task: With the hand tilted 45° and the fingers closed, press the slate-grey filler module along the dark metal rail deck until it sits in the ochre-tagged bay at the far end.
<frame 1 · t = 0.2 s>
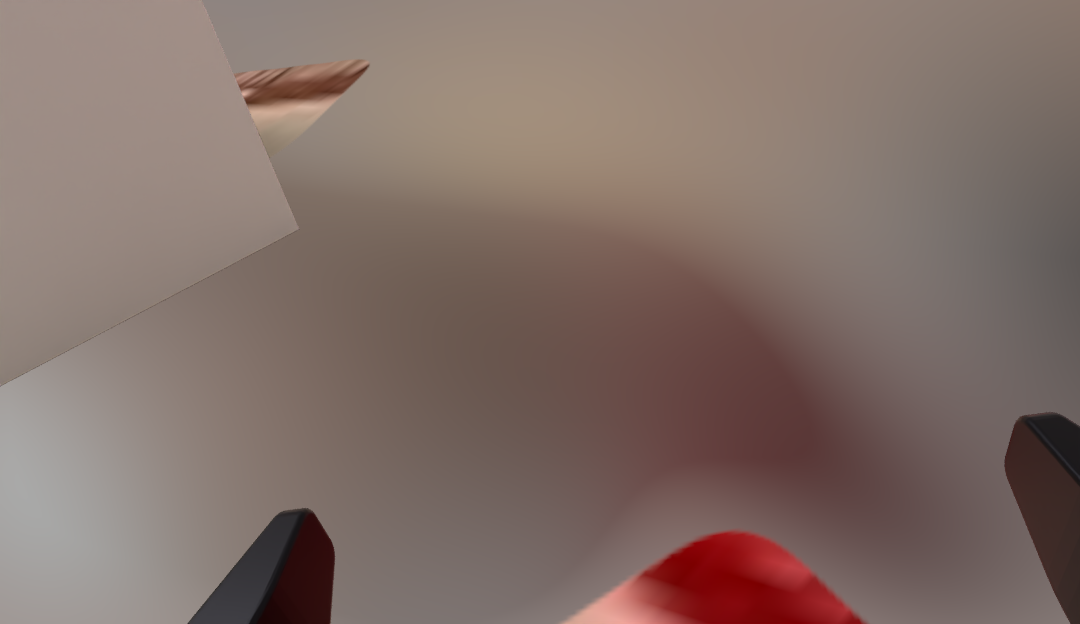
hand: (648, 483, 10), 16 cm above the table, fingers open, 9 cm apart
cube: (77, 239, 51), on the table
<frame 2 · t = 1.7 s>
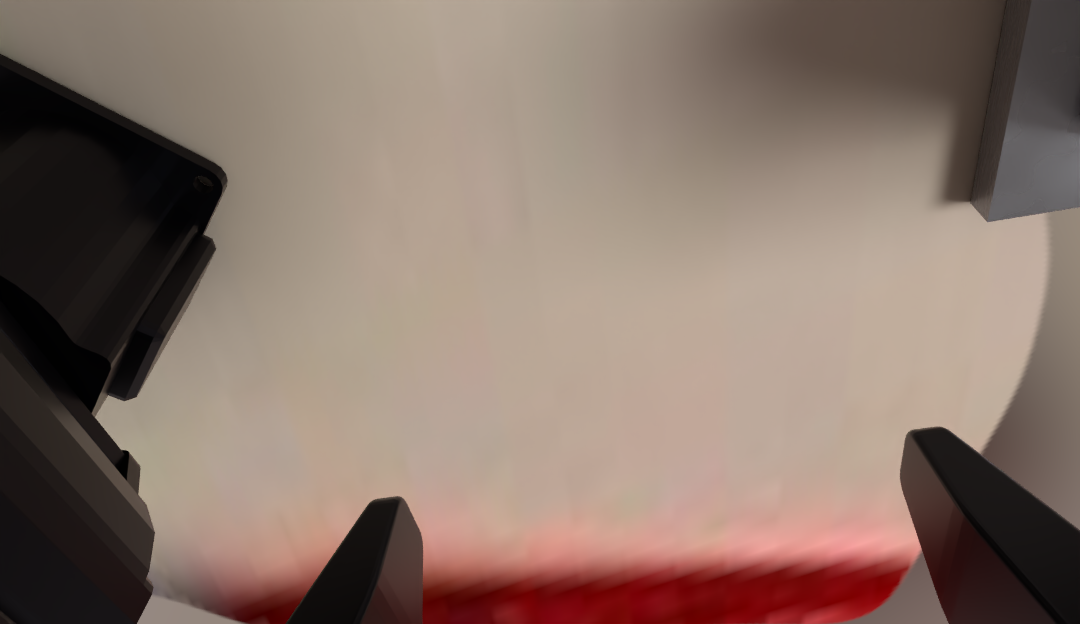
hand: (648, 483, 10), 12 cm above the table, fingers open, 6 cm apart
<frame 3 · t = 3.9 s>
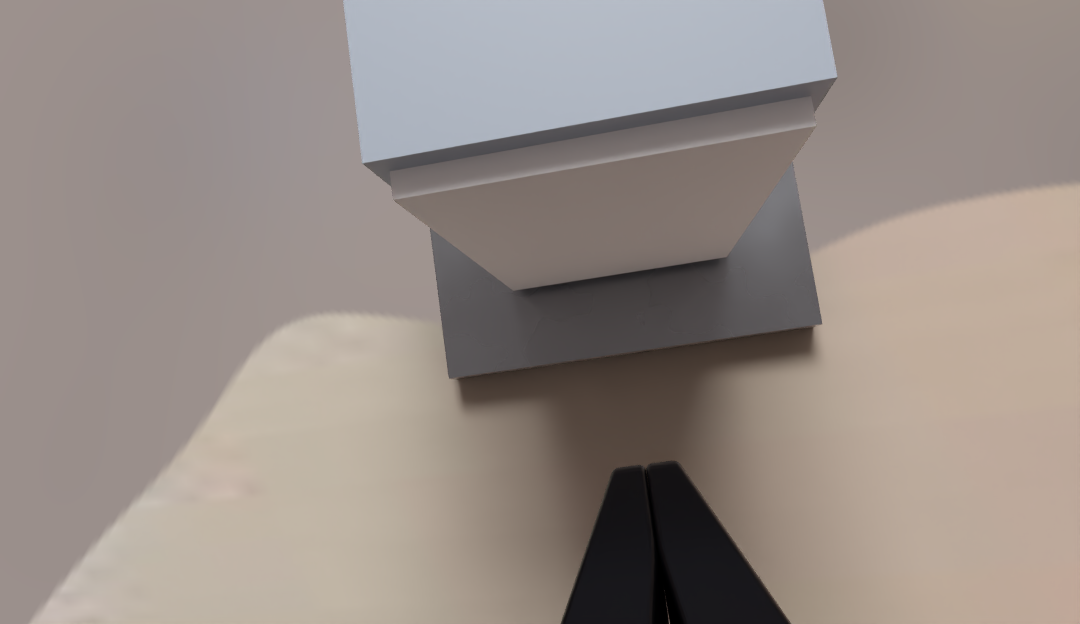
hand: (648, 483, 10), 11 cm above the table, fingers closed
module: (584, 58, 15), point 7 cm above the table, slide at 0.0 cm
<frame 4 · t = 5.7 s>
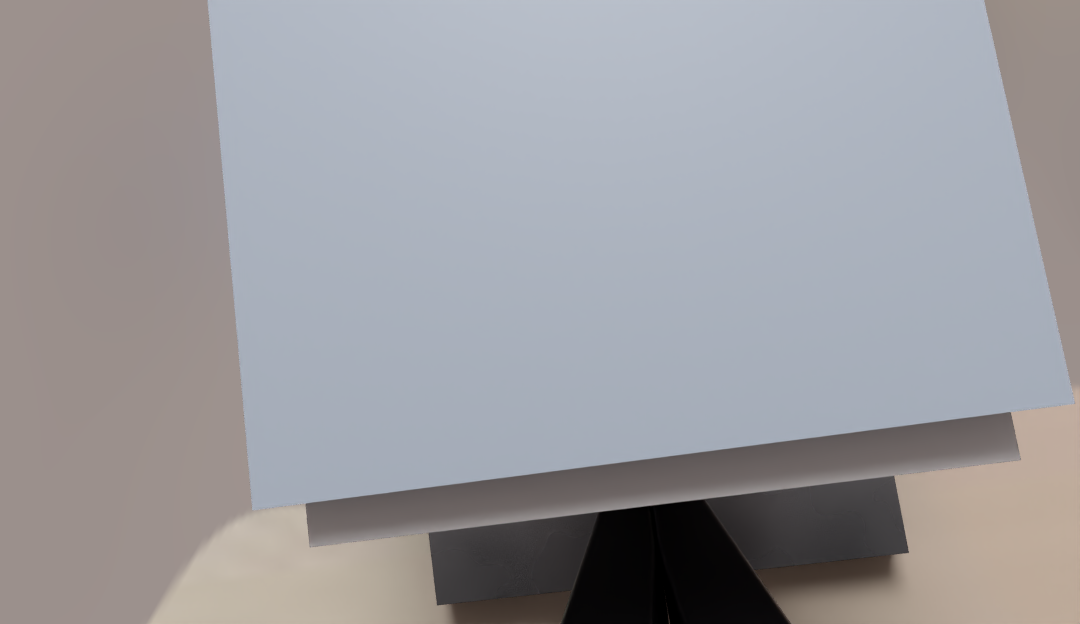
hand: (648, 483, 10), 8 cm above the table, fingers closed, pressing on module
rack deck: (586, 67, 19), on the table
module: (605, 207, 11), point 7 cm above the table, slide at 1.0 cm, touching gripper
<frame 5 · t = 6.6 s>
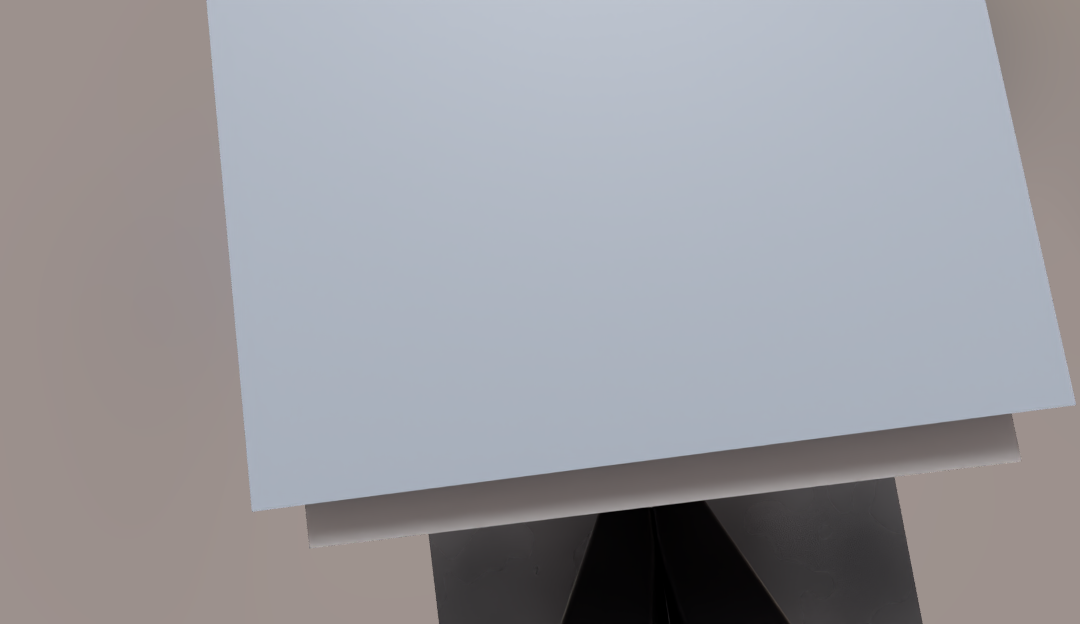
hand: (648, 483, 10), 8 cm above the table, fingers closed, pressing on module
rack deck: (618, 277, 18), on the table
module: (605, 206, 11), point 7 cm above the table, slide at 6.3 cm, touching gripper
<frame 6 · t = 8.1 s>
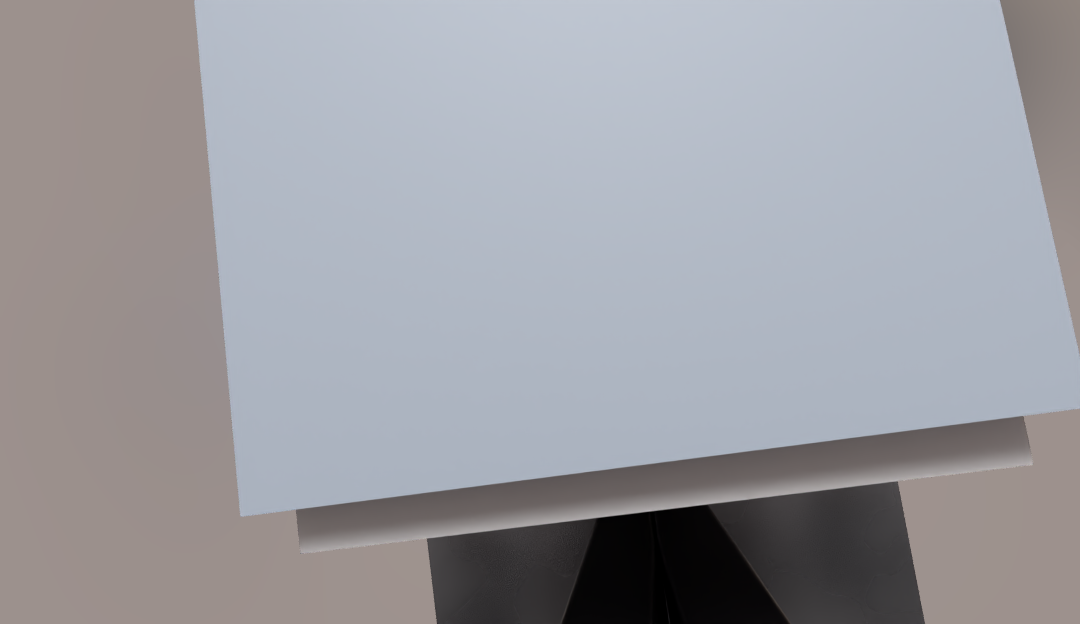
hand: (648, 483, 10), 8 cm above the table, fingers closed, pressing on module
rack deck: (649, 480, 17), on the table
module: (604, 202, 11), point 7 cm above the table, slide at 11.1 cm, touching gripper
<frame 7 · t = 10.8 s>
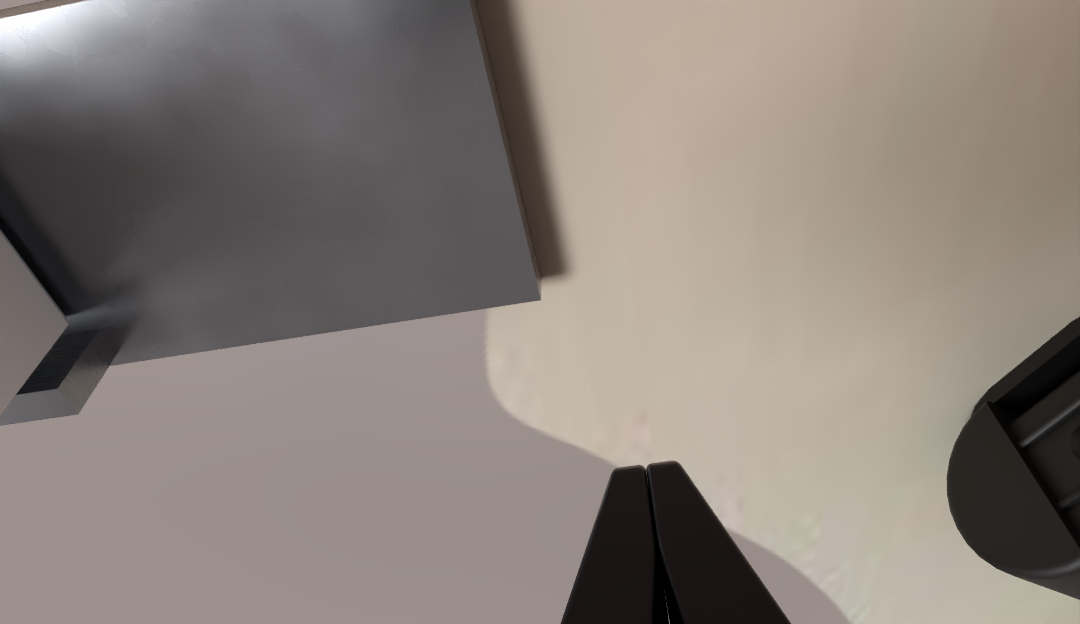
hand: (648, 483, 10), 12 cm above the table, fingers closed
rack deck: (77, 201, 21), on the table
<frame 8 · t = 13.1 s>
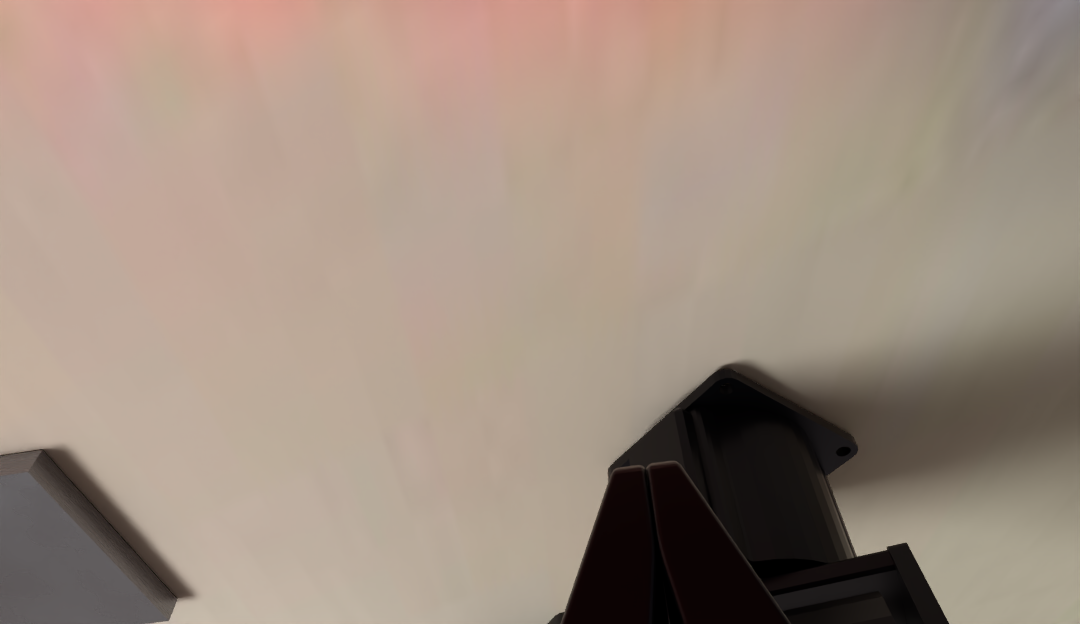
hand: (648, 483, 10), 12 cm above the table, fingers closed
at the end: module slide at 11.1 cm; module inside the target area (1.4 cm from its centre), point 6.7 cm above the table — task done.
